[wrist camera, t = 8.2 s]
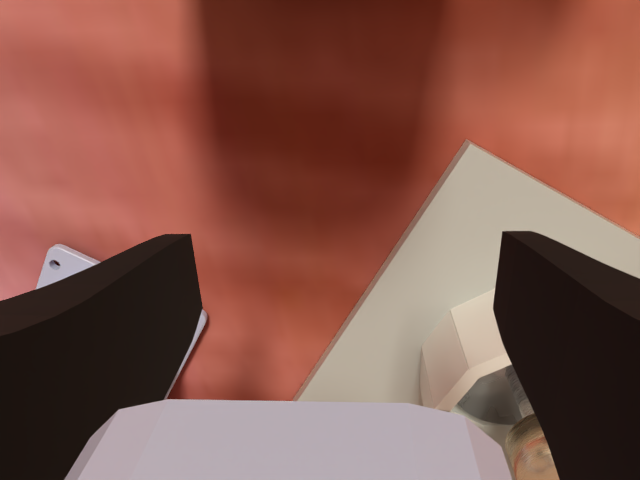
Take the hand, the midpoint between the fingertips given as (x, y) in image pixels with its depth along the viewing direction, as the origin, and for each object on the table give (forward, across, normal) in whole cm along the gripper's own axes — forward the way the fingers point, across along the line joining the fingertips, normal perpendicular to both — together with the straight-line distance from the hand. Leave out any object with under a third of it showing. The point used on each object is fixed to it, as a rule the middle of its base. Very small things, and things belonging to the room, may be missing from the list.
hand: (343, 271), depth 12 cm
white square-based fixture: (+10, -8, +10) cm, 17 cm away
